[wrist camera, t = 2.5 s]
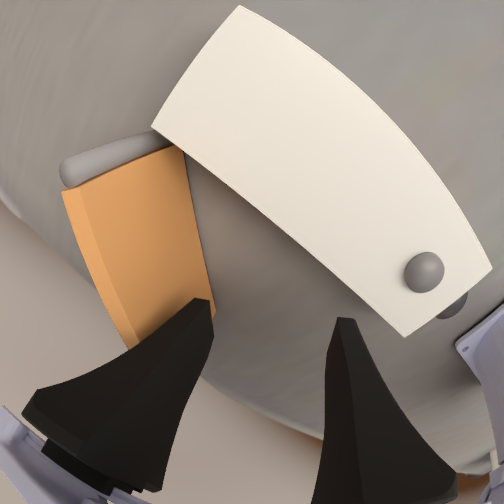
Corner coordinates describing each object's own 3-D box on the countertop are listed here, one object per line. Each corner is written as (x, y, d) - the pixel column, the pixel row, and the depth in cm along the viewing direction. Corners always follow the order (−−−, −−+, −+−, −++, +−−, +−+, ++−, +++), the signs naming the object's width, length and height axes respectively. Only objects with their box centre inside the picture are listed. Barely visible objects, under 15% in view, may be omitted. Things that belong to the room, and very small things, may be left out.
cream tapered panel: (475, 251, 10) (501, 286, 8) (402, 311, 13) (413, 352, 10) (256, 25, 8) (236, 1, 5) (182, 121, 10) (144, 129, 8)
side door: (162, 128, 10) (54, 163, 5) (178, 124, 10) (71, 156, 5) (203, 310, 15) (158, 398, 10) (216, 311, 15) (175, 402, 10)
